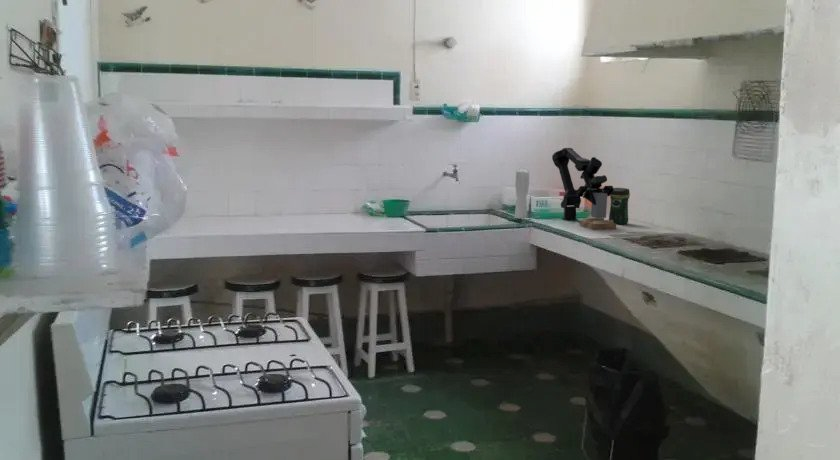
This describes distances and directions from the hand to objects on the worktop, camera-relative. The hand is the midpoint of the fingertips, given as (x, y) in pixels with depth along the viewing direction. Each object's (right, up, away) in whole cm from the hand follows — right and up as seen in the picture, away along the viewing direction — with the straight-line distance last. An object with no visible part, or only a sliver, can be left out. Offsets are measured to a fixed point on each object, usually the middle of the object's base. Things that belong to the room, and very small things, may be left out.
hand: (600, 204), depth 379 cm
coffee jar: (+14, -9, +19) cm, 25 cm away
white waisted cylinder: (-36, -7, +27) cm, 45 cm away
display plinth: (-1, -11, +3) cm, 12 cm away
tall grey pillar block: (-1, -6, +2) cm, 7 cm away
